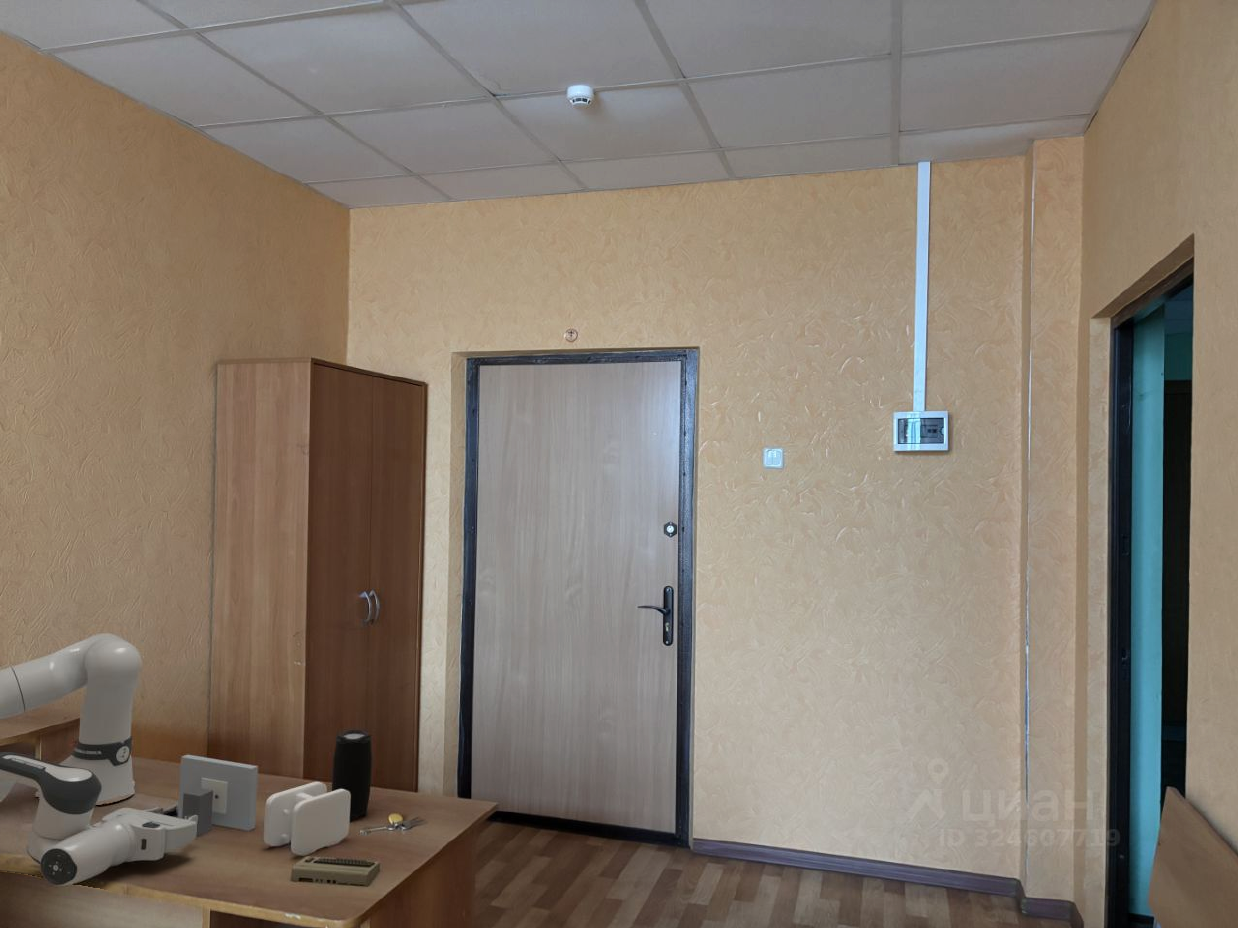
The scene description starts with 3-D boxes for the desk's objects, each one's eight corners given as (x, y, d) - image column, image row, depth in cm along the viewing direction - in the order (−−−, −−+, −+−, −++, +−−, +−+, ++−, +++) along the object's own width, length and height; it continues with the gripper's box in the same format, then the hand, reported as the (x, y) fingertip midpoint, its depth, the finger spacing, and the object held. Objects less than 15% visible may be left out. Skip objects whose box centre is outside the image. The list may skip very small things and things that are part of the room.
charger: (180, 833, 199) (183, 793, 199) (198, 825, 204) (200, 785, 204) (197, 836, 198) (199, 796, 198) (214, 828, 203) (216, 788, 203)
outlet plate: (176, 817, 208) (179, 757, 208) (184, 814, 210) (187, 754, 210) (247, 831, 202) (250, 769, 202) (254, 827, 204) (258, 766, 204)
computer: (380, 871, 186) (381, 855, 186) (367, 888, 178) (367, 871, 178) (306, 865, 187) (307, 849, 187) (290, 883, 179) (290, 866, 179)
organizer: (291, 862, 187) (294, 806, 187) (261, 848, 193) (263, 794, 193) (349, 840, 200) (352, 787, 200) (319, 828, 206) (321, 777, 206)
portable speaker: (343, 806, 219) (348, 726, 220) (376, 812, 216) (381, 731, 217) (322, 818, 211) (326, 735, 212) (355, 824, 208) (360, 740, 209)
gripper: (84, 844, 185) (139, 821, 198) (164, 861, 178) (214, 836, 192) (87, 813, 185) (141, 792, 198) (166, 829, 179) (216, 807, 192)
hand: (177, 814), depth 195 cm, fingers open, 8 cm apart
